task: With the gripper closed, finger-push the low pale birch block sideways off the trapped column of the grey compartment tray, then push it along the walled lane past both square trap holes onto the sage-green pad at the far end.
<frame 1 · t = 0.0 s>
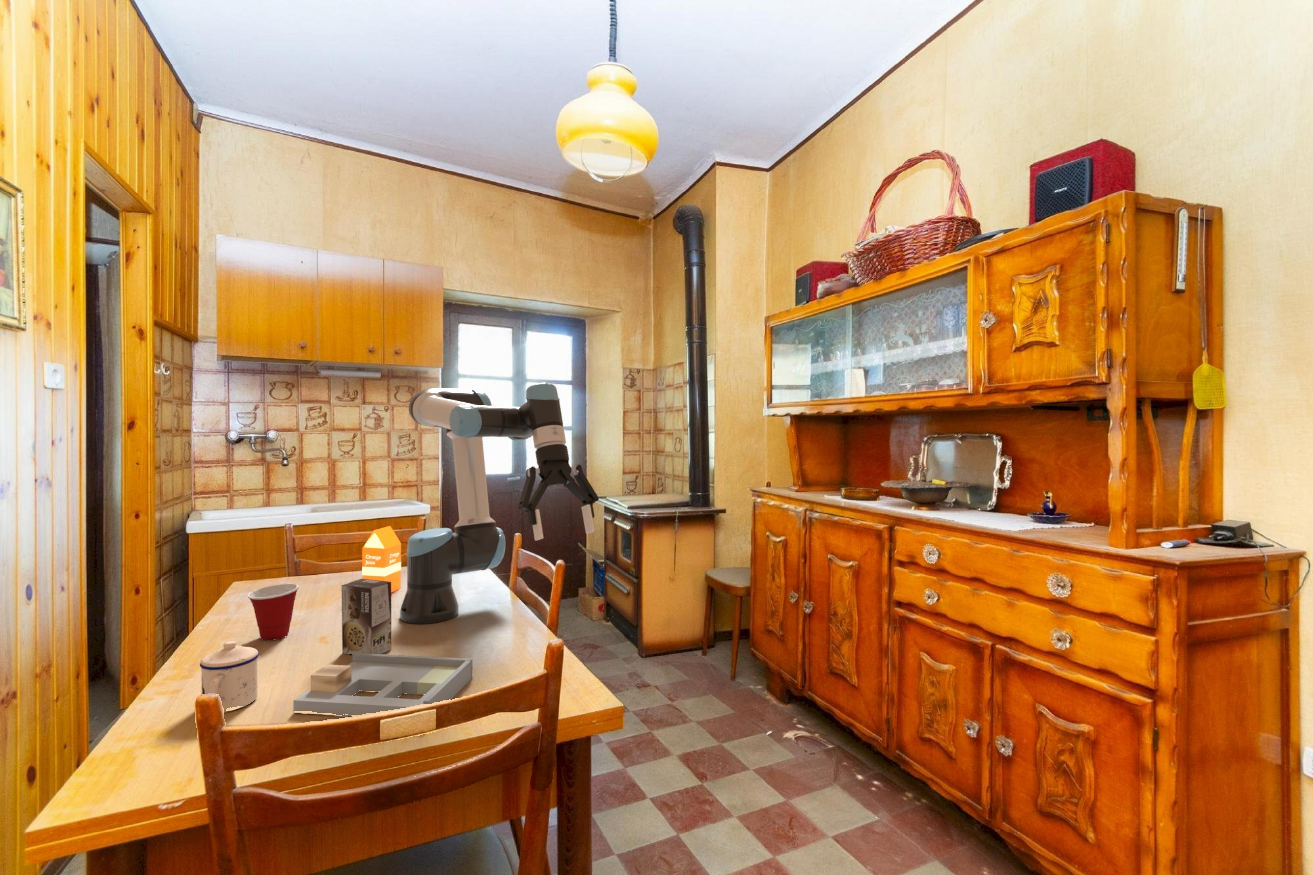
hand: (565, 536, 138), 28 cm above the table, tool tilted 20°, fingers open, 13 cm apart
orange juice: (382, 591, 190), on the table
plastic cup: (273, 637, 149), on the table
block: (331, 685, 116), point 2 cm above the table, touching grey compartment tray
grey compartment tray: (385, 695, 118), on the table
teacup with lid: (226, 707, 112), on the table
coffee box: (366, 652, 140), on the table
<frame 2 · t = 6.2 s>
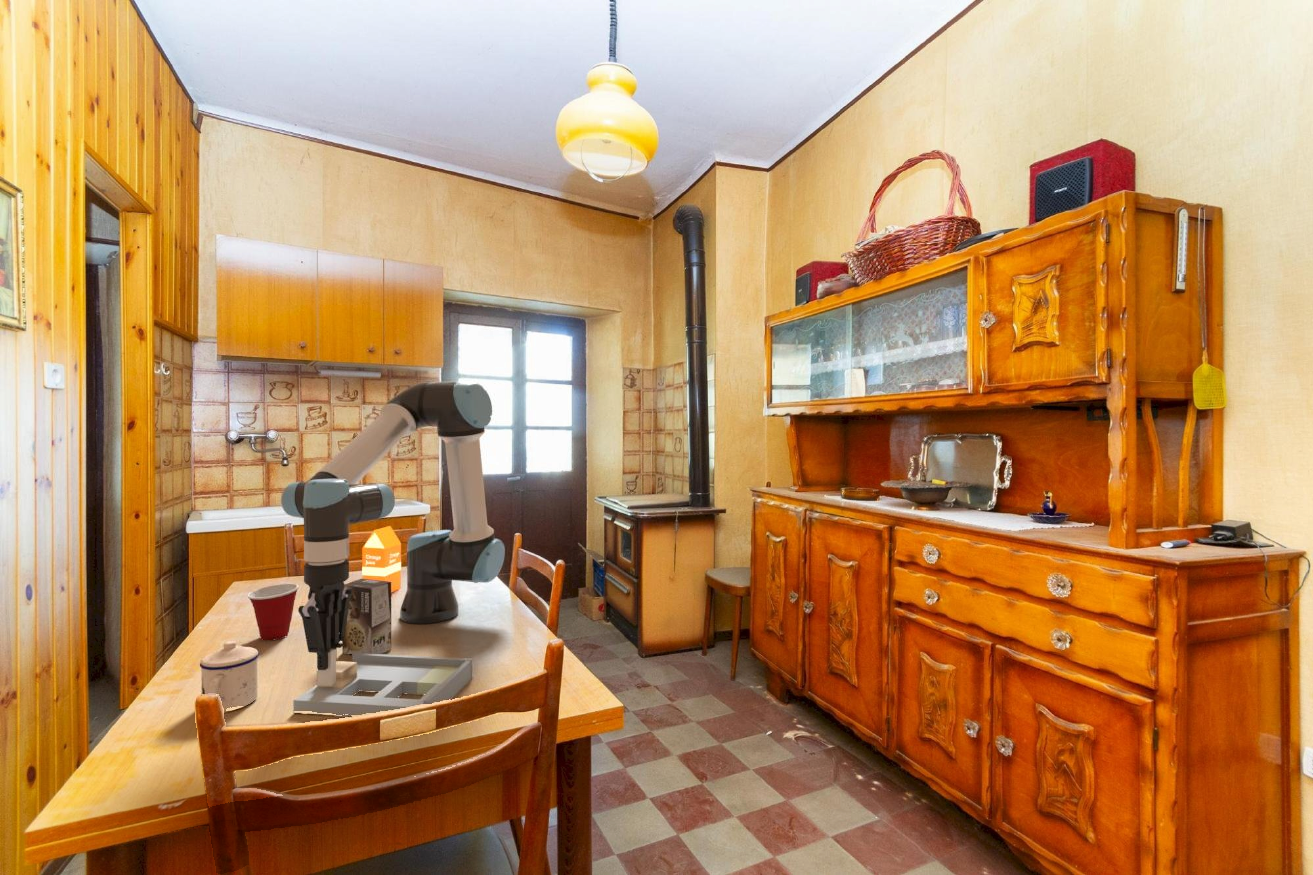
hand: (327, 683, 115), 3 cm above the table, tool pointing down, fingers closed
block: (337, 681, 118), point 3 cm above the table, touching gripper
everything else where it was.
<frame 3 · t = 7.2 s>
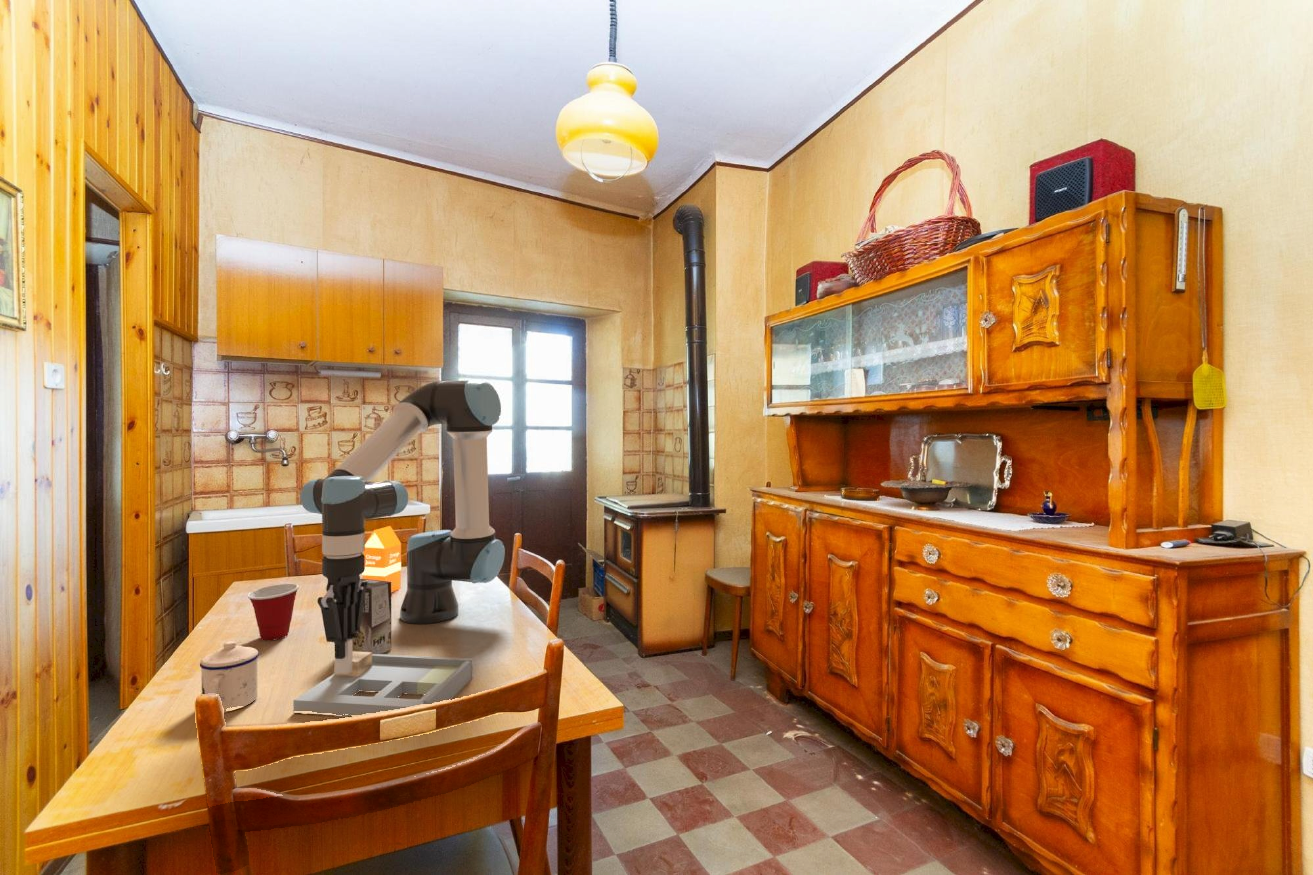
hand: (343, 672, 120), 4 cm above the table, tool pointing down, fingers closed
block: (353, 670, 123), point 2 cm above the table, touching grey compartment tray, gripper
everything else where it was.
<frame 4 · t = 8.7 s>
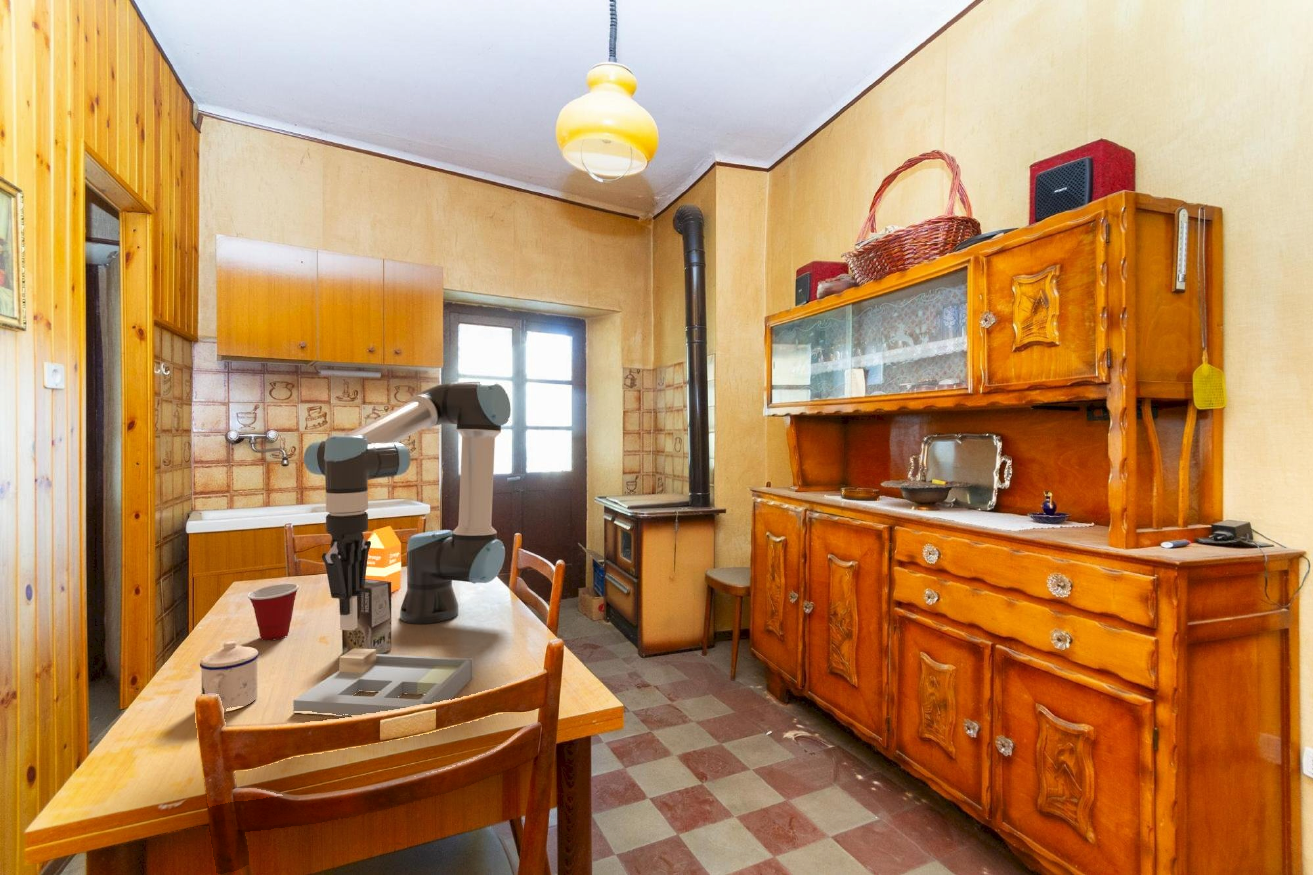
hand: (348, 628, 121), 12 cm above the table, tool pointing down, fingers closed
block: (358, 667, 125), point 2 cm above the table, touching grey compartment tray
everything else where it was.
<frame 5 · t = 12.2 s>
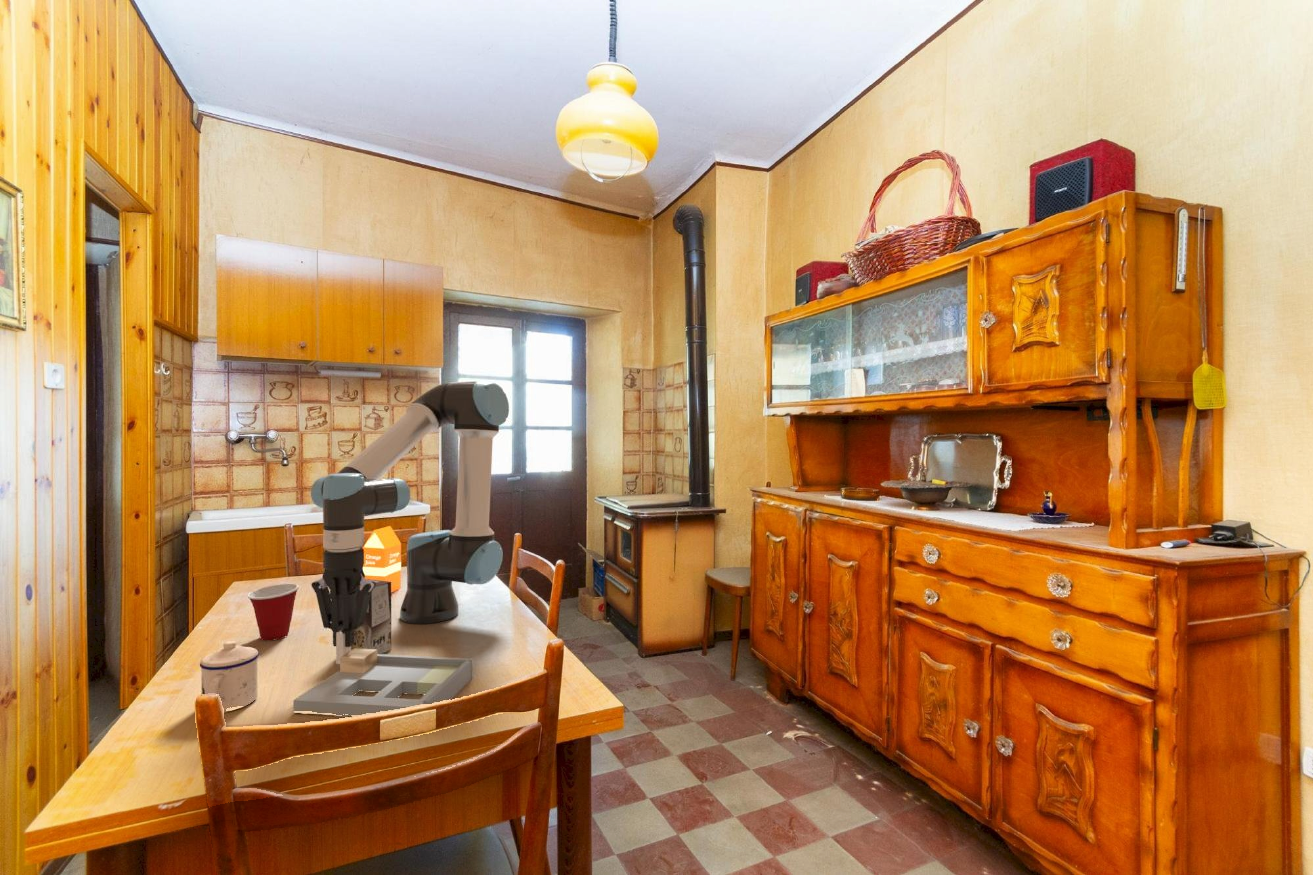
hand: (343, 661, 125), 4 cm above the table, tool pointing down, fingers closed
block: (359, 667, 125), point 3 cm above the table, touching grey compartment tray, gripper
everything else where it was.
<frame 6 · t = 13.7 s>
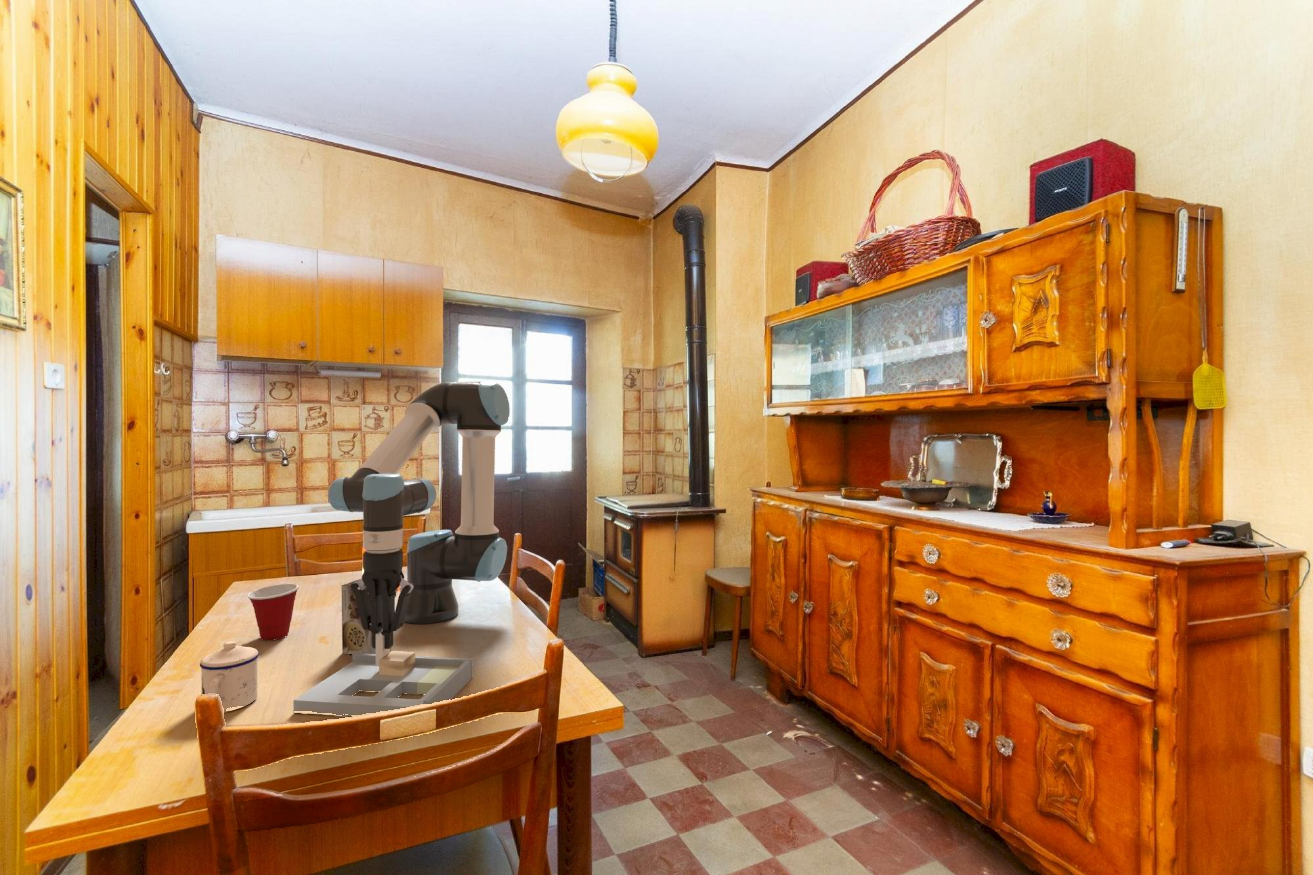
hand: (382, 663, 124), 4 cm above the table, tool pointing down, fingers closed
block: (397, 670, 124), point 3 cm above the table, touching gripper
everything else where it was.
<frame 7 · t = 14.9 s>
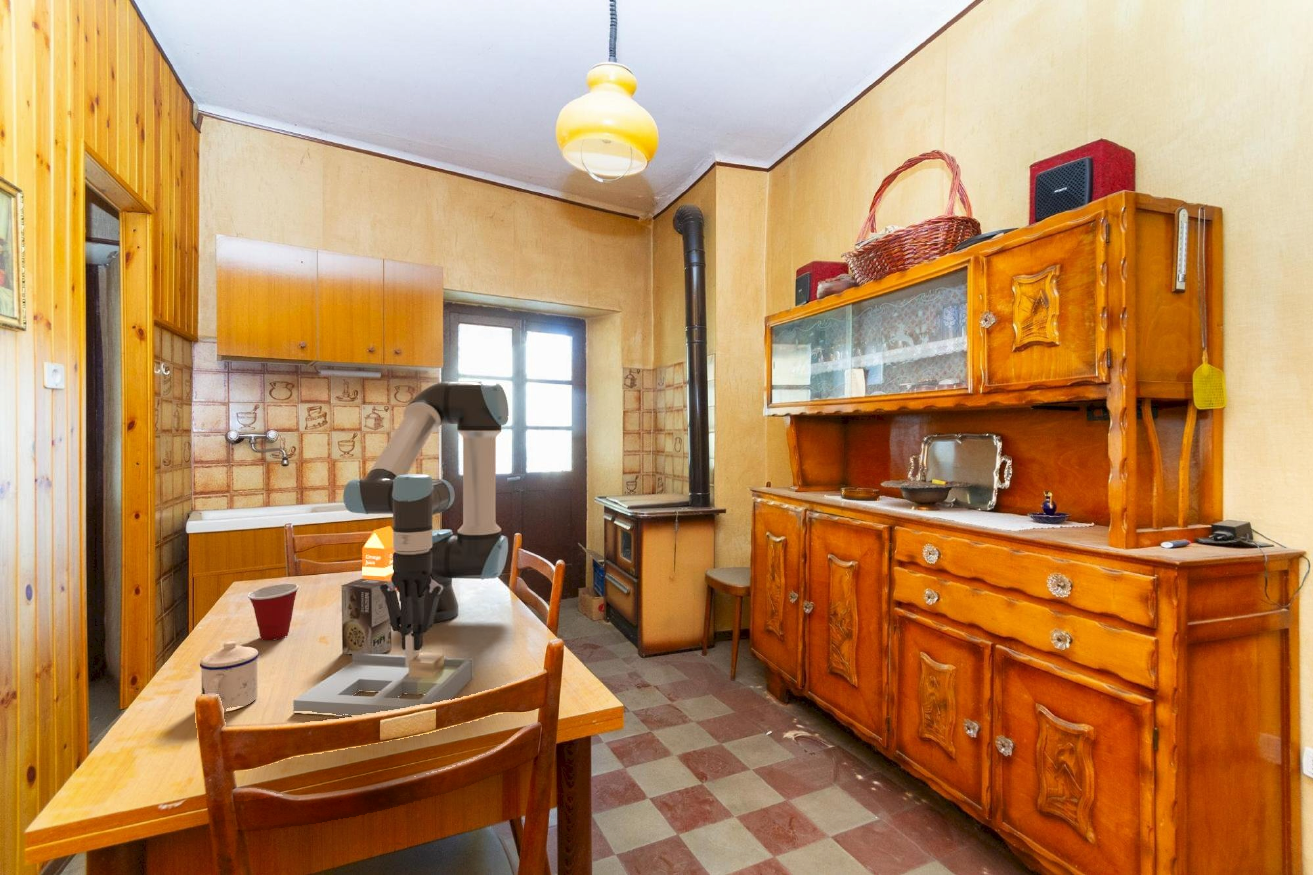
hand: (412, 664, 123), 4 cm above the table, tool pointing down, fingers closed
block: (426, 672, 123), point 3 cm above the table, touching gripper
everything else where it was.
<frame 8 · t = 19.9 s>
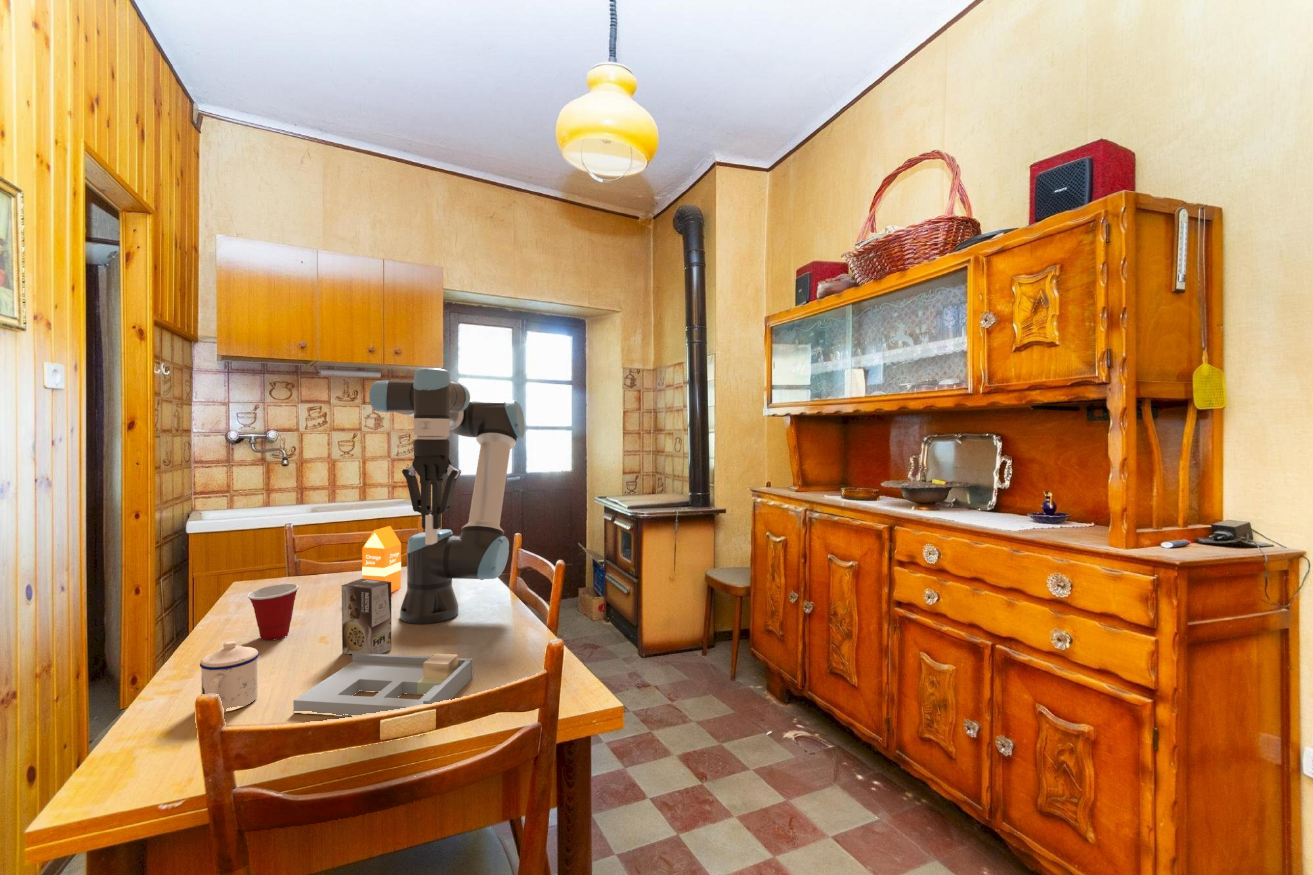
hand: (431, 543, 135), 26 cm above the table, tool pointing down, fingers closed
block: (441, 673, 123), point 2 cm above the table, touching grey compartment tray
everything else where it was.
at the end: block inside the target area (0.6 cm from its centre), point 2.5 cm above the table; block tilted 0° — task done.
